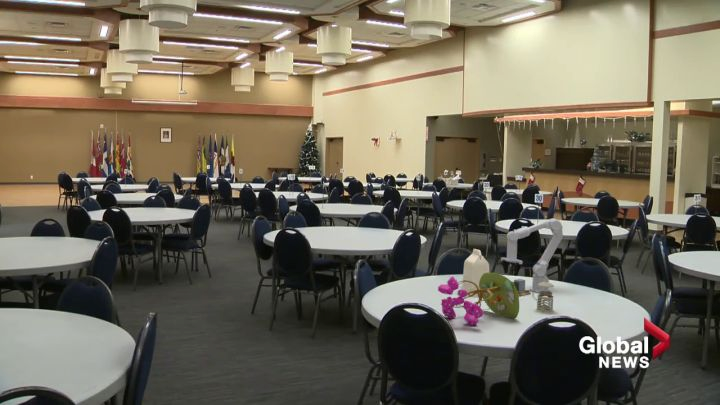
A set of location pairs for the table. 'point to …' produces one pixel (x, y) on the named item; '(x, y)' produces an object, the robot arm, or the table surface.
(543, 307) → the french press
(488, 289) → the magenta flower sprig
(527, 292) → the rail
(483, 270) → the milk
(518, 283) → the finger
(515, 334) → the table surface
